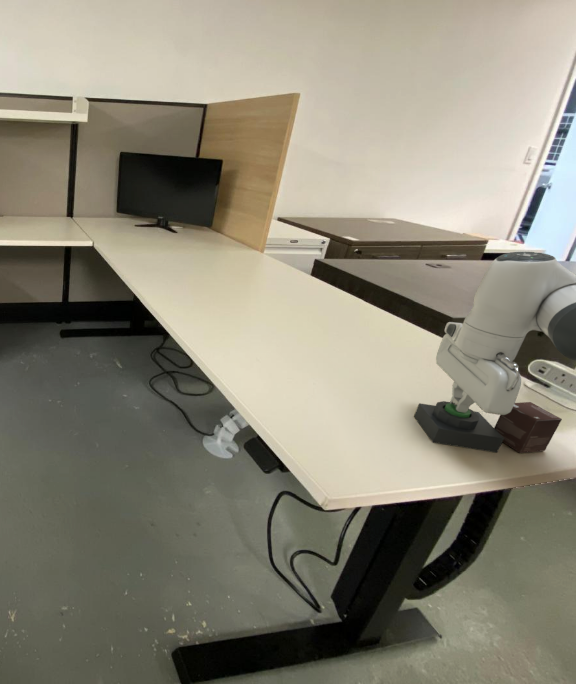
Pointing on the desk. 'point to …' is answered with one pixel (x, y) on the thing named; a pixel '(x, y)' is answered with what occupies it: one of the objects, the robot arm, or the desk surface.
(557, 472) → the desk surface
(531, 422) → the box
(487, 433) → the button base
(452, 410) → the green button cap
